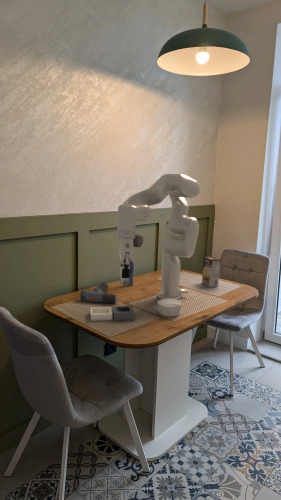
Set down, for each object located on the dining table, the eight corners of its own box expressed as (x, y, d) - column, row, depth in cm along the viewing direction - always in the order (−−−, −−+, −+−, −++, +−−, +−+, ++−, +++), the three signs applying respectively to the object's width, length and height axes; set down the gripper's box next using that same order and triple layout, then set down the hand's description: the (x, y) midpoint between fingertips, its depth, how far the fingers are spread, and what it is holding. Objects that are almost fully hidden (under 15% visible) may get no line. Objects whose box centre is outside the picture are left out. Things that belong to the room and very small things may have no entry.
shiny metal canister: (128, 282, 156) (129, 262, 155) (130, 284, 152) (130, 264, 151) (119, 282, 156) (119, 262, 154) (120, 285, 151) (120, 264, 150)
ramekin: (163, 319, 156) (164, 307, 155) (152, 310, 166) (153, 299, 165) (185, 316, 161) (186, 304, 160) (173, 307, 171) (174, 297, 170)
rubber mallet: (142, 286, 204) (144, 233, 198) (135, 289, 198) (137, 235, 192) (124, 282, 210) (126, 231, 205) (117, 285, 204) (118, 232, 198)
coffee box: (201, 282, 215) (203, 256, 212) (210, 282, 217) (212, 256, 214) (209, 287, 207) (211, 260, 204) (219, 286, 209) (221, 259, 206)
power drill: (127, 294, 190) (116, 306, 171) (94, 290, 194) (79, 302, 174) (127, 284, 189) (116, 295, 169) (94, 281, 193) (79, 291, 173)
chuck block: (131, 312, 162) (131, 305, 161) (134, 320, 153) (134, 312, 153) (111, 313, 160) (111, 306, 160) (113, 320, 152) (113, 313, 151)
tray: (110, 312, 161) (110, 306, 161) (112, 320, 153) (112, 314, 152) (90, 312, 160) (90, 307, 159) (91, 320, 151) (91, 314, 151)
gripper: (138, 237, 143) (136, 281, 146) (132, 231, 159) (130, 271, 162) (119, 237, 141) (118, 281, 145) (115, 231, 157) (114, 271, 161)
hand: (124, 276), depth 153 cm, fingers closed on shiny metal canister, 4 cm apart
